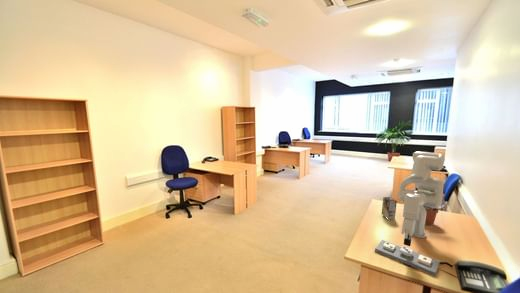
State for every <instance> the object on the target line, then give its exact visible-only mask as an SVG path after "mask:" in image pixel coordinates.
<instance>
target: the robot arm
mask: <svg viewBox="0 0 520 293" xmlns="http://www.w3.org/2000/svg"><path fill="white" fill-rule="evenodd" d="M412 161H413V164H412V168H411V169H412V170H411V173H410V175H409V176H407V177H405V178H404V179H403V180H402V181H401V182H400V184H399V187H398V191H397V199H398V200H399V201H401V202H403V212H402V217H403V221H402V227H401V232H400V233H401V234H402V235H404V238H403V245H404V246H407V247H411V246H412V237H414V238H417V239H418V238H419V239H426V238H427V233H426V232H425V226H426V224H425V221H426V210H425V208H424V207H423V206H427V207H431V208H438V209H440V208H441V206H442V203H443V202H442V201H443V193H444V181H443V180H442V179H440V178H437V177H432V176H431V175H432V171H441V170H443V167H444V165H445V161H446V158H445V155H444V154H443V153H440V152H429V151H415V152H412ZM411 184H414V187H415V188H417V190H411V189H406V187H408V186H409V185H411ZM418 189H421V190H423V192H422V191H418ZM425 190H427V191H426V192H425ZM428 191H432V192H433V193H429V192H428Z"/></svg>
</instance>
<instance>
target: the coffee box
mask: <svg viewBox="0 0 520 293" xmlns="http://www.w3.org/2000/svg"><path fill="white" fill-rule="evenodd" d="M397 202H398V201H397V200H396V199H394V198H393V197H391V196H383V197H382V205H381V206H382V208H381V215H382V214H383V215H384V216H385V217H387V218H388V219H395V220H396V214H397V213H396V212H397ZM384 216H383V217H384ZM385 217H384V218H385ZM387 218H386V219H387ZM388 219H387V220H388Z"/></svg>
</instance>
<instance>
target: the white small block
mask: <svg viewBox="0 0 520 293" xmlns="http://www.w3.org/2000/svg"><path fill="white" fill-rule="evenodd" d="M400 247H401V249H400V253H403V255H405V256H407V257H408V256H410V257H411V255H412V253H413V251H414V249H412V248H408V247H405V246H403V245H402V246H400Z"/></svg>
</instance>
